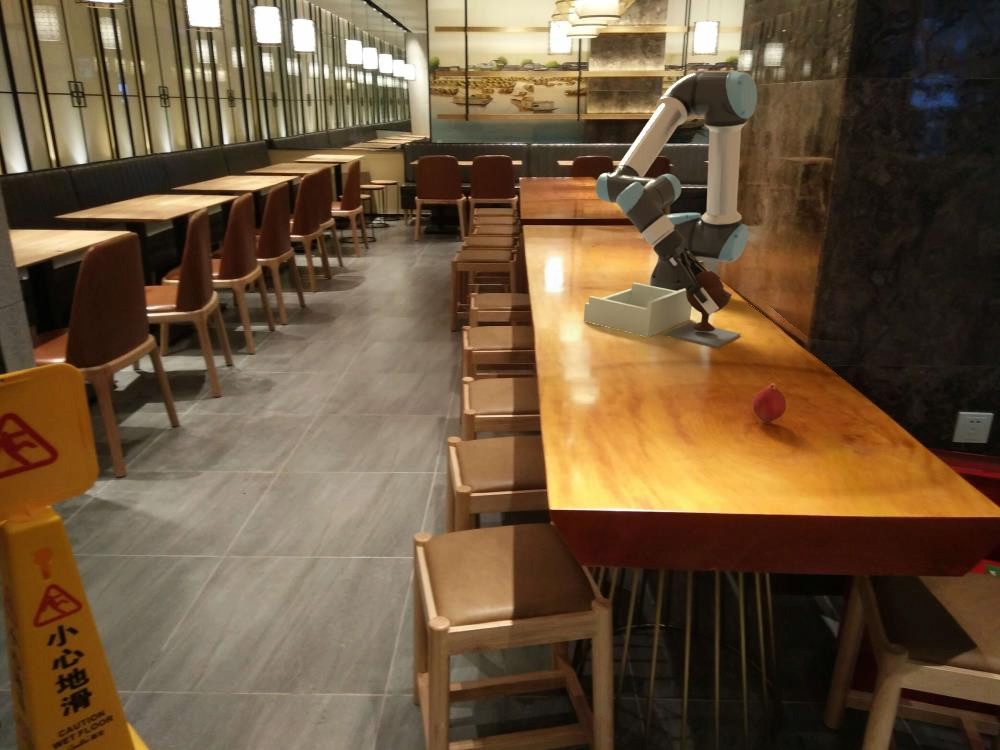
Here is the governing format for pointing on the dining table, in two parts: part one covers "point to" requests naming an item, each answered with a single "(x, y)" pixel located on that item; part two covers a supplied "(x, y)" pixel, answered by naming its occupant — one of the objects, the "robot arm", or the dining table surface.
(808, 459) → the dining table surface
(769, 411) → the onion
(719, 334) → the slate mat
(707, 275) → the ice cream bowl
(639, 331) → the drawer
